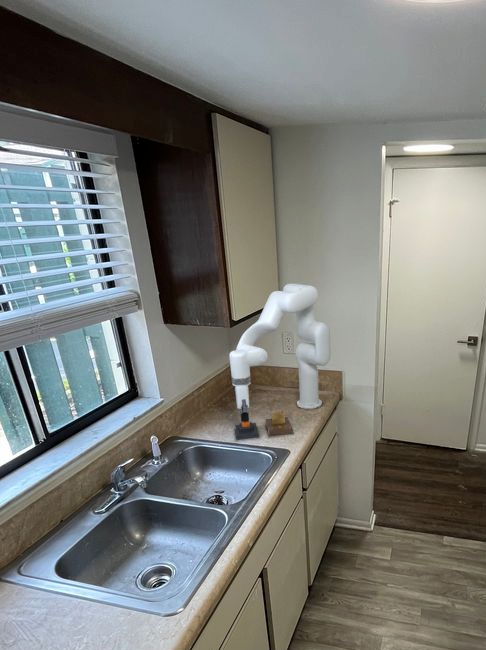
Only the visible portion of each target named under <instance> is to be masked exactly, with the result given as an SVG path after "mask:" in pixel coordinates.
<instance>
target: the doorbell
mask: <svg viewBox="0 0 486 650" xmlns="http://www.w3.org/2000/svg"><path fill="white" fill-rule="evenodd" d="M234 427H235V434H236V441H242V440H251V439H258V438H259V431H258V426H257V423H256V422H252V421H250V426H249V427H242V422H241V423H239V424H234Z"/></svg>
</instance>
